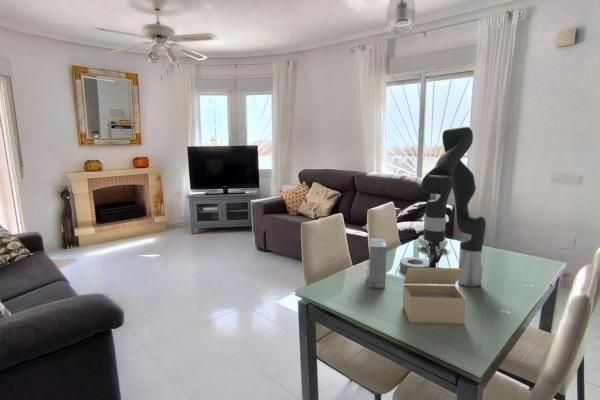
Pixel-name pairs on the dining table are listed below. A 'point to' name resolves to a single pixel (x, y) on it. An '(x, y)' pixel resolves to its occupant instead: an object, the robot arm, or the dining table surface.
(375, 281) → the hard drive box
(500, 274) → the dining table surface
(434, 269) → the lid
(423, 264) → the tape roll
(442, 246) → the cereal bowl
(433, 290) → the carton
